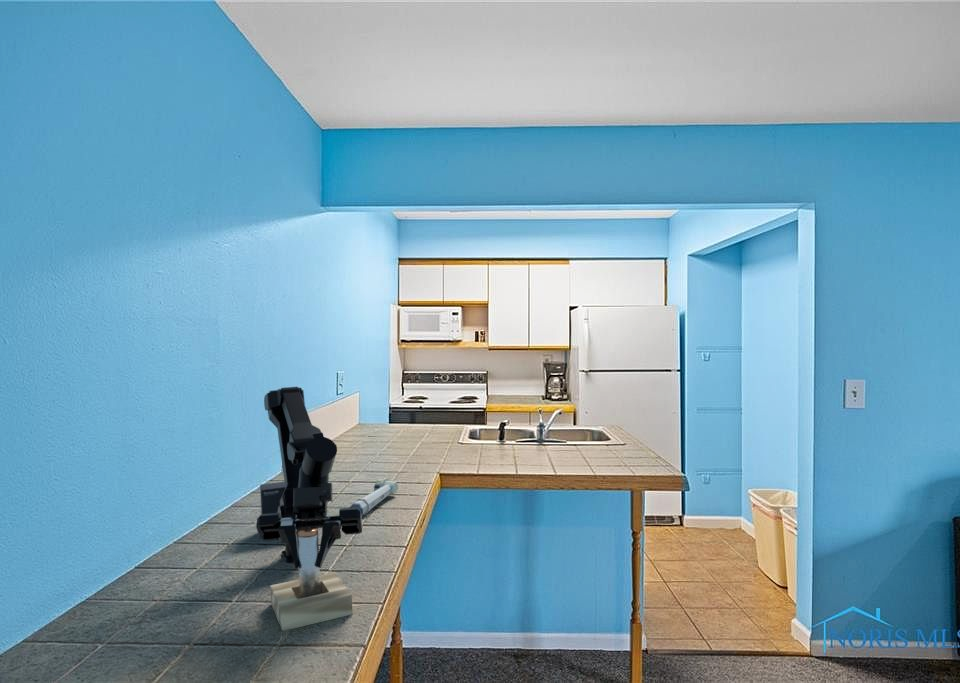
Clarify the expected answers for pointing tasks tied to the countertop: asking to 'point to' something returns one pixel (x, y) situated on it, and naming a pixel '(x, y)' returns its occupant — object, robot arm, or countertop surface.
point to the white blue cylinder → (376, 495)
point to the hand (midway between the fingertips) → (308, 567)
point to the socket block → (310, 602)
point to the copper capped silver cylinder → (308, 561)
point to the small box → (271, 496)
